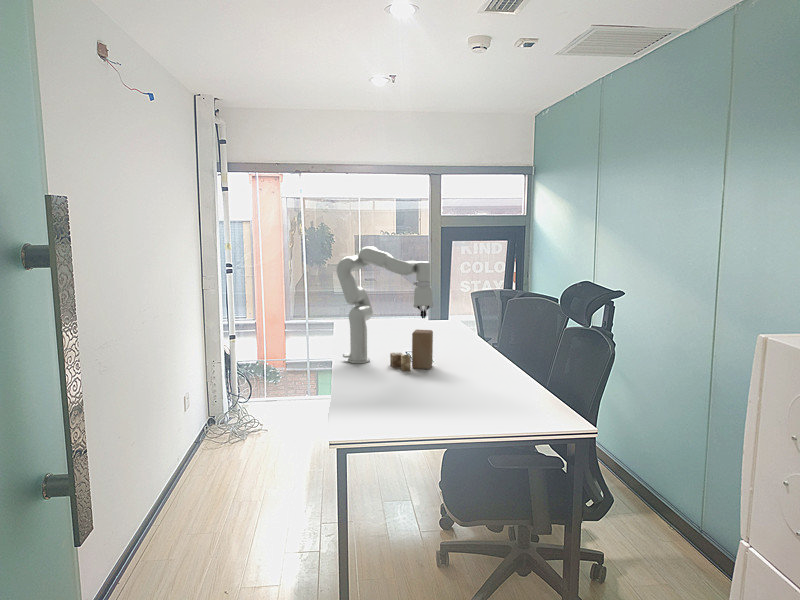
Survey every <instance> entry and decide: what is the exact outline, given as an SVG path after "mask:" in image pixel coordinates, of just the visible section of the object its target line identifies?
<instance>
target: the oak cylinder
mask: <svg viewBox="0 0 800 600" xmlns="http://www.w3.org/2000/svg"><path fill="white" fill-rule="evenodd" d="M411 363H412V354H411V355H410V354H403V355H401V368H400V370H401V371H402V372H410V371H411Z"/></svg>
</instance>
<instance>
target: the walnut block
mask: <svg viewBox="0 0 800 600" xmlns="http://www.w3.org/2000/svg"><path fill="white" fill-rule="evenodd" d="M389 354H390V355H389V357H390V358H389V359H390V360H389V361H390V362H389V364H390V365H389V366H391V368H392V369H396V368H397V369H398V368H400V369H401V355H404V354H403V353H402V352H390V353H389Z"/></svg>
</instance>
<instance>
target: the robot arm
mask: <svg viewBox="0 0 800 600" xmlns="http://www.w3.org/2000/svg"><path fill="white" fill-rule="evenodd" d="M369 265H374V266H376V267H380V268H382V269H385V270H387V271H388V272H389V271H390V272H391V273H394V274H398V275H401V276H404V277H405V276H408V277H409V276H412V275H415V277H416V278H415V281H413V286H414V285H415V286H414V292H413V308H416V309H418V310H419V311H420V317H421V319H426V317H427V311H428V310H429V309H431V308H434V304H433V303H434V299H433V298H434V297H433V296H434V294H433V287H432V286H431V263H430V261H424V260H423V261H418V260H417V261H416V260H407V261H404V260H401V259H398V258H395V257H393V256H392V255H391V254H390V253H389V252H386V251H382V250H379V249H378V248H377V247H376V246H364V247H362V248H361V250H360V251H359V253H357V254H356V255H349V256H348V255H347V256H345V257H344V258H342V259H341V260H340V261H338V263H337V266H336V275H337V278H338V280H339V284H340V287H341V289H342V290H341V291H342V293H343V296H344V299H345V302H346V303H347V304H348V305H354V307H352V308H351V309H350V311H349V312H348V313H349V314H348V322H349V333H350V344H349V345H350V351H349V352H348V353H343V354H342V358H346V359H347V362H349V363H351V364H366V363H369V362H370V361H371V358H370V357H368V327H367V323H366V321H368V320H370V319H371V318H372V317H373V314H374V313H373V312H374V311H373V308H372V307H373V306H372V304H371V301H370V299H369V295H368V292H367V291H366V289H364V287H361V286H358V285H357V283H356V280H355V277H354V275H353V274H352V272H355V271H360V270H361V269H363V268H365V267H367V266H369ZM422 306H423V307H424V308H423V307H422Z"/></svg>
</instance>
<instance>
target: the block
mask: <svg viewBox="0 0 800 600" xmlns="http://www.w3.org/2000/svg"><path fill="white" fill-rule="evenodd" d="M411 335H412V337H411V339H412V340H411V342H412V345H411V367H412V369H418V370H422V369H423V370H430V369H431V367H432V366H433V351H434V350H433V341H434V339H433V338H434V336H433V335H434V334H433V330H432V329H415V330H414V331H413V332H412V334H411Z"/></svg>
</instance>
